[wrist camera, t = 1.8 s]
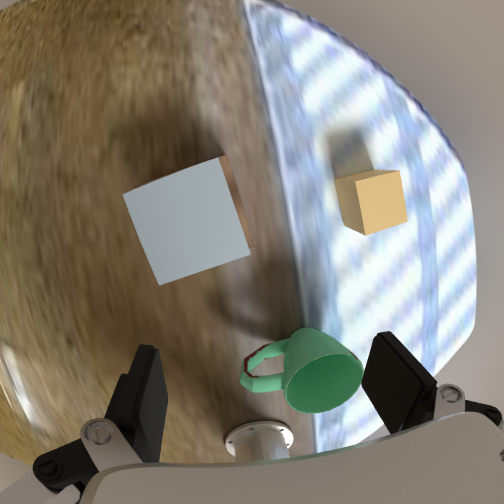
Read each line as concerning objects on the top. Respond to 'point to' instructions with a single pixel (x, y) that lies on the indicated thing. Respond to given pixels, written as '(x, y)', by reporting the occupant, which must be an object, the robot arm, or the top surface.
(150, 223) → the slate block
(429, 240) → the top surface
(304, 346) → the mug
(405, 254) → the top surface
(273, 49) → the top surface
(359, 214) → the ochre cube
